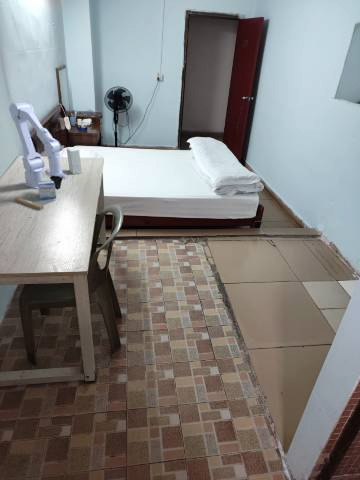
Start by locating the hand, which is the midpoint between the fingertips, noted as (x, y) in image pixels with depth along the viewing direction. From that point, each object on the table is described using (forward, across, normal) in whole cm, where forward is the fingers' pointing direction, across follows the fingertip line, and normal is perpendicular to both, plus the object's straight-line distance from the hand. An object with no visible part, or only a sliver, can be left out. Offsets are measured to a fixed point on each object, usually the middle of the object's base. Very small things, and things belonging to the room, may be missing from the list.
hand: (58, 188), depth 180 cm
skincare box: (+3, +17, -31) cm, 35 cm away
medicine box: (+3, 0, +8) cm, 8 cm away
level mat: (+2, 0, +14) cm, 14 cm away
